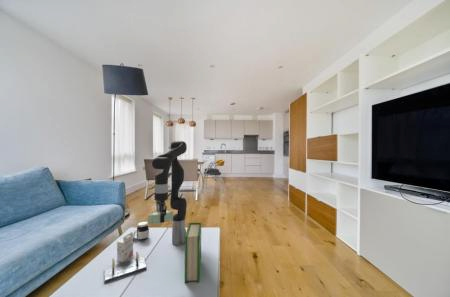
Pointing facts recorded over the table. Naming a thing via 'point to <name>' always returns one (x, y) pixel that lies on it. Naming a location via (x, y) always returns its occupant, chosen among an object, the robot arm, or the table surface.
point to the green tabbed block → (155, 217)
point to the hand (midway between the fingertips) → (160, 220)
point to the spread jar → (142, 231)
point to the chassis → (124, 268)
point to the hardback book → (193, 252)
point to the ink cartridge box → (125, 247)
